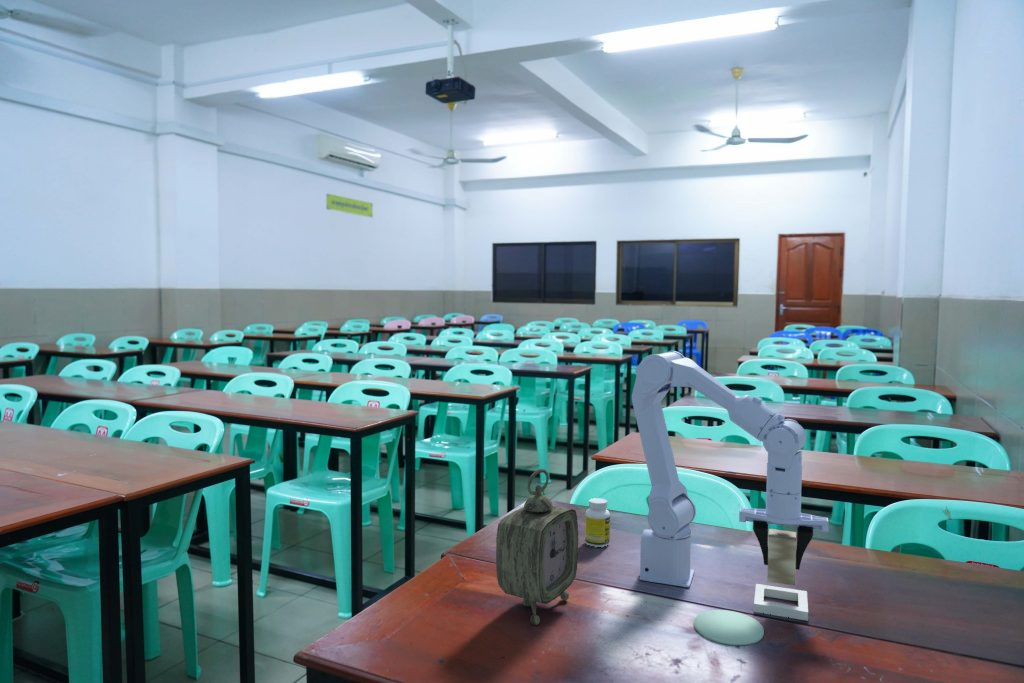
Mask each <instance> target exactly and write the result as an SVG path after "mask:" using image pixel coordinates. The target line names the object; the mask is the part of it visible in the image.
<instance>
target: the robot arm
mask: <svg viewBox="0 0 1024 683" xmlns="http://www.w3.org/2000/svg"><path fill="white" fill-rule="evenodd" d="M634 371H635V381H634V386H633V389H632V393H631V403H632V406H633V407H632V408H633V412H634V414H635V415H634V416H635V419H636V423H637V428H638V433H639V437H640V440H641V445H642V450H643V453H644V458H645V462H646V466H647V471H648V476H649V479H650V485H651V488H650V491H649V494H648V499H647V503H648V514H647V522H648V525H649V528H650V529H648V528H647V529H643V531H642V533H641V539H640V552H639V554H640V566H639V567H640V570H639V572H640V573H639V574H640V576H639V580H641V581H645V582H650V583H656V584H657V583H658V584H665V585H669V586H675V587H682V588H690V586H691V584H692V581H693V578H694V575H695V569H692V568H691V553H692V552H691V550H692V549H691V548H692V547H691V546H692V543H691V541H692V540H691V539H692V530H691V528H690V526H691V523H692V522H693V521H694V520H695V517H696V515H697V514H696V513H697V509H696V505H695V503H694V501H693V500H692V499H691V497H690V496H689V493H688V490H687V487H686V486H685V485H684V483H682V482H681V481H680V480H679V475H678V474H679V473H678V470H677V466H676V462H675V458H674V454H673V453H674V452H673V448H672V445H671V441H670V436H669V432H668V427H667V424H666V419H665V416H664V410H663V407H662V402H663V399H664V398H665V397H666V395H667V394H668V392H669V391H670V390H671V389H672V388H674V387H677V388H678V387H679V388H683V387H684V388H685V387H686V388H691V389H693V390H694V391H696V392H697V393H699V394H701V395H703V396H704V397H706V398H707V399H709V400H711V401H712V402H713V403H715V404H717V405H718V406H720V407H722V408H723V409H725V410H726V411H727V413H728V416H729V420H730V421H731V422H732V423H734V424H735V425H736V426H738V427H739V428H741V429H742V430H744V431H745V432H746V433H747V434H749V435H750V436H752V437H754V438H755V439H756V440H757V441H759V442H762V444H763V447H764V450H765V451H766V452H767V463H766V490H765V491H766V493H765V496H766V497H765V498H766V499H765V508H742V507H740V508H739V513H738V514H739V515H738V516H739V517H738V519H739V520H738V522H741V523H746V522H751V523H752V524H753V525H752V529H753V532H754V535H755V536H756V537H755V538H757V541H758V544H759V546H760V550H761V553H762V554H761V555H762V558H763V565H764V566H768V538H769V525H777V526H785V527H793V528H796V570H800V569H801V568H800V567H801V562H802V560H803V557H804V555H805V551H806V550H807V548H808V545H809V544H810V542H811V541H812V540H813V537H814V530H819V531H821V532H824V533H828V532H829V518H828V517H826V516H825V517H823V516H819V515H814V514H809V513H803V512H802V481H803V480H802V479H803V476H802V475H803V465H802V461H803V457H802V456H803V451H802V450H801V449H803V447H804V446H805V444H806V443H807V442H806V441H807V434H806V430H805V429H804V427H803V426H802V425H801V424H799V422H798V421H797V420H796V419H790V418H786V415H784V414H782V413H777V412H775V411H774V410H773V409H771V408H769V407H768V406H766V405H765V404H764V403H762V402H763V401H762V400H763V399H762V398H761V397H760V396H758V395H755V396H751V394H743V395H739V394H737V393H736V392H734V391H733V390H731V389H730V388H729V387H728V386H726V385H725V384H723V383H722V382H721V381H720V380H718V379H717V378H716V377H714V376H713V375H711V374H710V373H709V372H708V371H706V370H705V369H703V368H702V367H701V366H699V365H698V364H697V363H696V362H695V361H694V360H693V359H691V358H688V357H685V356H684V355H683V354H682V353H681V352H678V351H676V350H668V351H666V352H662V353H654V354H649V355H646V356H645V357H644V358H643V359H642V360H640V363H639V364H638V365H637V366H636V368H635V370H634ZM785 418H786V419H785Z"/></svg>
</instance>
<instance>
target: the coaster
mask: <svg viewBox="0 0 1024 683" xmlns="http://www.w3.org/2000/svg"><path fill="white" fill-rule="evenodd" d="M693 625H694V628H695V630H696V632H698V633H699V634H700V635H701V636H702V637H704V638H706V639H708V640H710V641H713V642H716V643H719V644H722V645H723V644H724V645H728V646H729V645H730V646H749V645H753V644H756V643H759V642H760V641H761V640H762V639H763V637H764V633H765V632H764V626H763V625H762V624H761V623H760V621H758V620H757V619H755V618H754V617H751V616H750V615H746V614H744V613H742V612H738V611H733V610H727V609H712V610H706V611H702V612H700V613H699V614H697V615H696V616H695V617H694V620H693Z"/></svg>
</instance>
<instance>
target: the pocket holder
mask: <svg viewBox="0 0 1024 683" xmlns="http://www.w3.org/2000/svg"><path fill="white" fill-rule="evenodd" d="M765 597H766V598H773V599H774V598H775V599H778V600H779V599H781V600H787V601H794V602H797V606H795V605H788V604H782V603H776V602H769V601H765ZM753 612H754V613H758V614H763V613H764V614H765V615H770V614H771V616H777V617H782V618H788V617H789V619H794V620H795V619H796V620H800V621H807V622H808V621H809V602H808V591H807V590H800V589H795V588H788V587H782V586H781V587H780V586H773V585H768V584H761V583H755V591H754V599H753ZM764 614H763V615H764Z"/></svg>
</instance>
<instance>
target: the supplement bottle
mask: <svg viewBox="0 0 1024 683" xmlns="http://www.w3.org/2000/svg"><path fill="white" fill-rule="evenodd" d="M588 507H589V508H588V509H586V511H585V521H584V522H585V526H584V530H585V531H584V532H585V534H584V535H585V536H584V542H585V544H586V545H587V544H588V545H591V546H595V547H594V548H597V547H601V548H603V547H602V546H606V547H608V546H609V545H610V541H611V540H610V539H611V538H610V537H611V536H610V534H611V530H610V529H611V520H610V519H611V513H610V511H609V510H608V500H607V499H605V498H602V497H601V498H599V497H596V498H595V497H594V498H590V499H589V500H588ZM608 544H609V545H608ZM588 545H587V546H588ZM607 545H608V546H607ZM591 546H590V547H591Z"/></svg>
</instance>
